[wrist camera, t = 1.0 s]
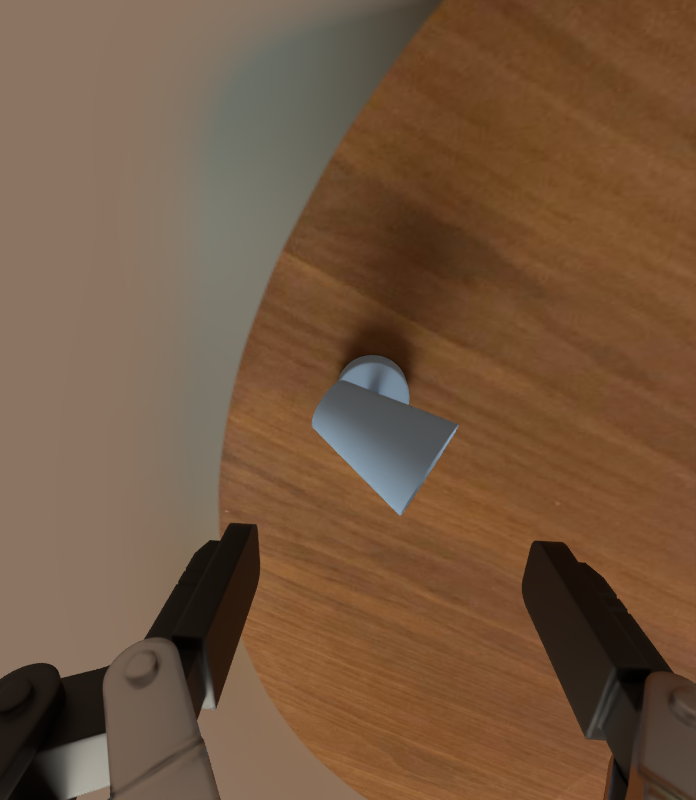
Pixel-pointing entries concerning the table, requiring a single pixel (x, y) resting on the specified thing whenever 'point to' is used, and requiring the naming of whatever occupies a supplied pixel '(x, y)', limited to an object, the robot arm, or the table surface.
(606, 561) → the table surface
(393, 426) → the spotlight
